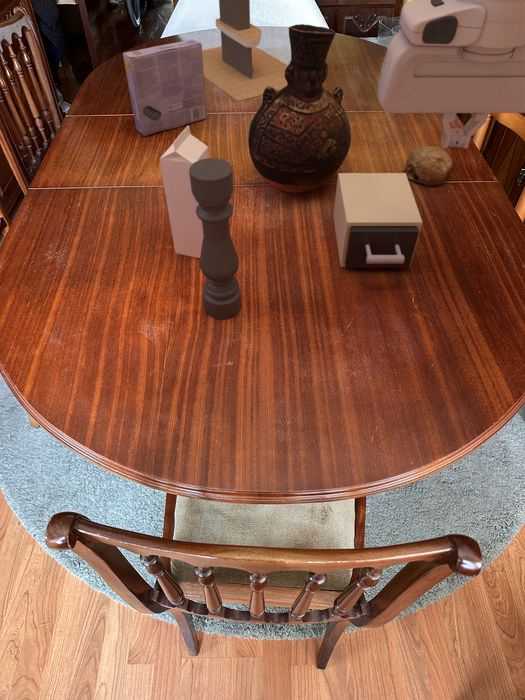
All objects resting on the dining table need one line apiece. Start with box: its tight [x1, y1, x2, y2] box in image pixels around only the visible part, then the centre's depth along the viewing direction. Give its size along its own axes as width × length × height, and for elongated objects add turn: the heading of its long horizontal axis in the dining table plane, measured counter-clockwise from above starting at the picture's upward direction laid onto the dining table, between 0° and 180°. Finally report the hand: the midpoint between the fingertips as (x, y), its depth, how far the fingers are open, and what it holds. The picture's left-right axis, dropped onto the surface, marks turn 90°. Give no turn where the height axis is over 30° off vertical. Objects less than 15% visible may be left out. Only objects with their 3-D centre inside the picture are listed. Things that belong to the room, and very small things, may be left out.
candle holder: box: [189, 157, 242, 320], centre depth 76 cm, size 6×6×25 cm
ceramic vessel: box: [247, 23, 352, 194], centre depth 99 cm, size 21×18×30 cm
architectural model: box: [202, 0, 289, 102], centre depth 144 cm, size 38×25×20 cm, turn 32°
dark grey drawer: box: [344, 226, 420, 269], centre depth 90 cm, size 19×11×8 cm, turn 0°
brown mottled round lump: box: [405, 145, 454, 187], centre depth 110 cm, size 10×10×8 cm
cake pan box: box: [122, 38, 208, 137], centre depth 122 cm, size 19×5×18 cm, turn 123°
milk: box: [159, 125, 210, 259], centre depth 87 cm, size 6×6×22 cm
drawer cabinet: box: [332, 172, 423, 268], centre depth 93 cm, size 16×13×10 cm
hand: (453, 146), depth 62 cm, fingers closed
